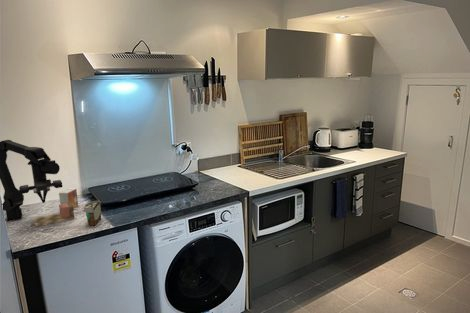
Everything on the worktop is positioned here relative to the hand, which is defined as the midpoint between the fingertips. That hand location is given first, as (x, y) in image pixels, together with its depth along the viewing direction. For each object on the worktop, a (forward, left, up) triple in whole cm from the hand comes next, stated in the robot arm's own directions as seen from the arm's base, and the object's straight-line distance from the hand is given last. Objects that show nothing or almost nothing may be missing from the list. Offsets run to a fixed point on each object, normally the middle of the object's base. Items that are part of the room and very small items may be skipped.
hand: (43, 202), depth 174 cm
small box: (+13, +15, -11) cm, 23 cm away
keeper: (+9, 0, -9) cm, 13 cm away
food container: (+20, -15, -11) cm, 27 cm away
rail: (+4, 0, -11) cm, 11 cm away
